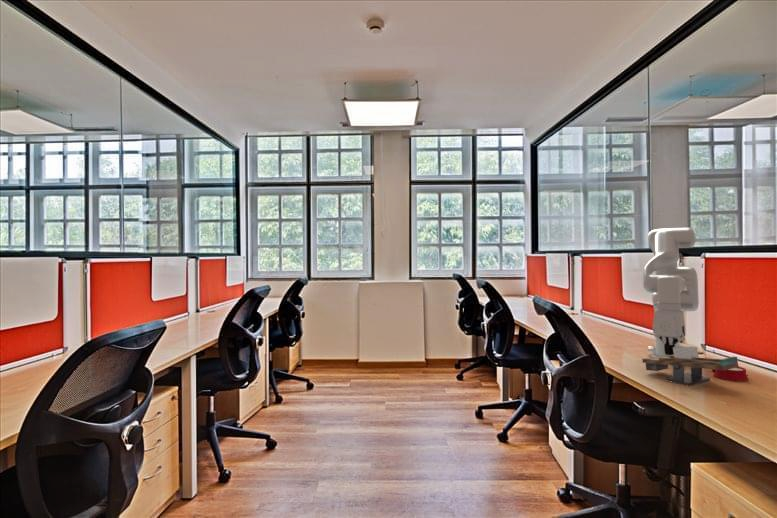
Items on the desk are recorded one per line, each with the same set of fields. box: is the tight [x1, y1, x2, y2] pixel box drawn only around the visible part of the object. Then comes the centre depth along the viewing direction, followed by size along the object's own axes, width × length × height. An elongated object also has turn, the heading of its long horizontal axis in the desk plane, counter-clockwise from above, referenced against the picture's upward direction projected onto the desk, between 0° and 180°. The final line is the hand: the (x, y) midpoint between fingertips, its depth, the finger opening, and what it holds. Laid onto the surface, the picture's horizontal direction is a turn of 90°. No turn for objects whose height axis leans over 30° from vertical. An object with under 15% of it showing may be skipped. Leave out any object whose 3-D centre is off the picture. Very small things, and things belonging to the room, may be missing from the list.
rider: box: [673, 345, 700, 361], centre depth 159 cm, size 6×5×5 cm
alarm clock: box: [710, 365, 749, 383], centre depth 163 cm, size 10×6×15 cm
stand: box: [665, 364, 711, 387], centre depth 159 cm, size 8×15×7 cm, turn 118°
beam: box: [642, 355, 739, 372], centre depth 159 cm, size 28×10×6 cm, turn 28°
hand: (669, 354), depth 164 cm, fingers closed
